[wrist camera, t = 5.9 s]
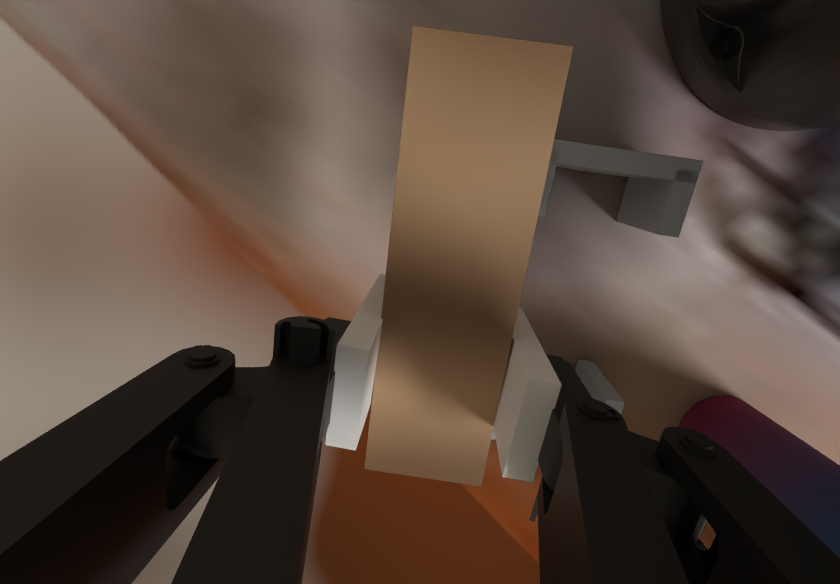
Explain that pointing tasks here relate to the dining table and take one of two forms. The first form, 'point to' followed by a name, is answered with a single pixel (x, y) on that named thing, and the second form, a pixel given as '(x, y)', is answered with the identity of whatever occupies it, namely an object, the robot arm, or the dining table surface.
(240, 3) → the dining table surface
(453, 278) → the slat
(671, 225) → the grey u-shaped bracket
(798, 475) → the cup
